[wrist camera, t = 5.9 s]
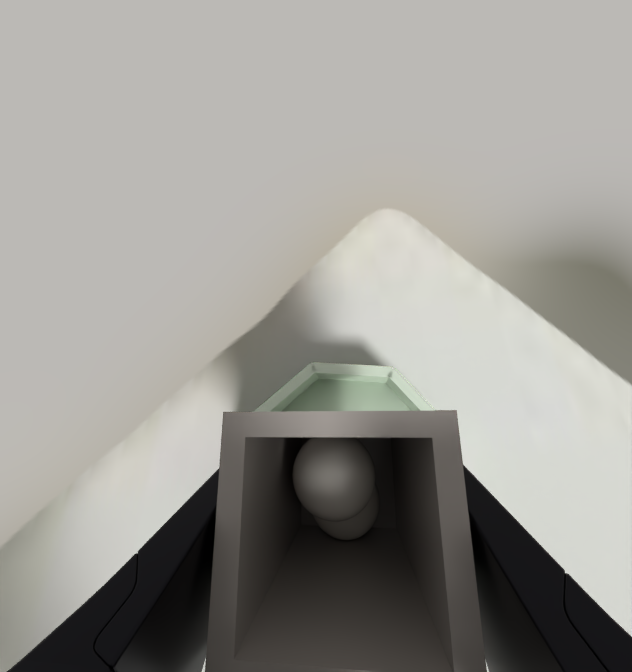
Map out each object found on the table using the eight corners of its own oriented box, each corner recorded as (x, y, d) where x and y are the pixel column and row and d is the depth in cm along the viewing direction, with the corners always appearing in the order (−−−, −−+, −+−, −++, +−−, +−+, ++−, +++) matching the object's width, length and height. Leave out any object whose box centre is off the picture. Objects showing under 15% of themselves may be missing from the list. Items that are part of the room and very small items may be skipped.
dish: (338, 629, 19) (335, 663, 16) (220, 452, 23) (201, 455, 20) (490, 480, 20) (512, 487, 18) (354, 337, 24) (354, 324, 21)
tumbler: (407, 537, 15) (492, 721, 6) (291, 532, 16) (203, 693, 6) (399, 415, 16) (456, 410, 7) (293, 416, 17) (223, 411, 8)
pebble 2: (362, 513, 15) (361, 571, 12) (306, 487, 16) (292, 537, 13) (389, 465, 15) (395, 514, 12) (330, 437, 15) (321, 479, 12)
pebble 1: (348, 558, 10) (339, 463, 9) (280, 521, 11) (270, 442, 11) (393, 503, 12) (387, 426, 11) (330, 480, 14) (323, 414, 13)
